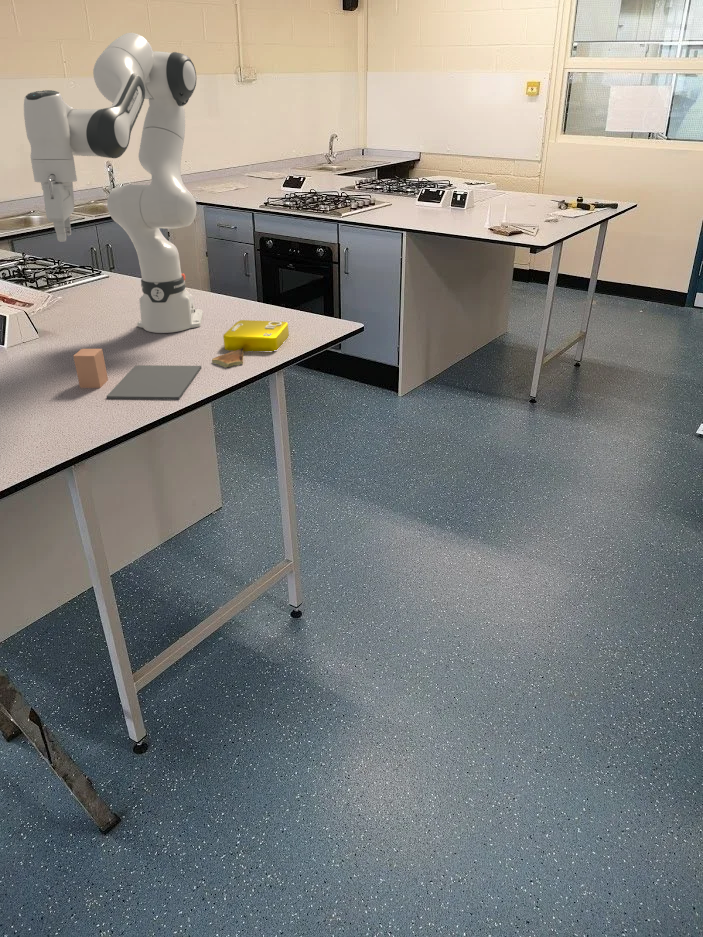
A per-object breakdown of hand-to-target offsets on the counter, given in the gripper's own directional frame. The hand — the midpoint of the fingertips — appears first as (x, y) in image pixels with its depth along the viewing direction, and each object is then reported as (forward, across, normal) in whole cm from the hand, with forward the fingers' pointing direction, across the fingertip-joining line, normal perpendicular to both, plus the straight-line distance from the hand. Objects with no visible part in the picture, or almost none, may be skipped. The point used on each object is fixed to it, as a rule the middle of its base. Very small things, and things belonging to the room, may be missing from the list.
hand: (64, 238), depth 165 cm
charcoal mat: (+32, -10, -17) cm, 38 cm away
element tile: (+31, +13, -44) cm, 55 cm away
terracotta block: (+33, -6, -2) cm, 34 cm away
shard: (+32, +1, -35) cm, 47 cm away
